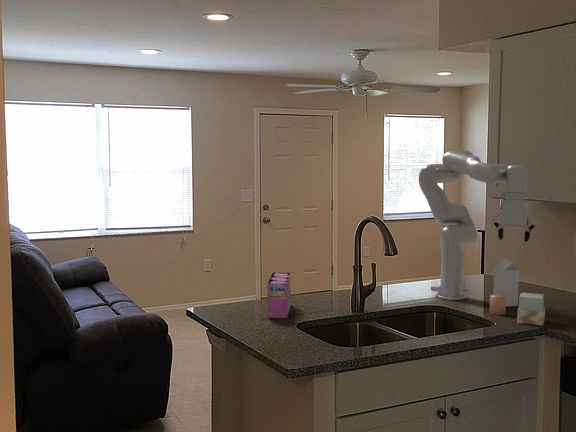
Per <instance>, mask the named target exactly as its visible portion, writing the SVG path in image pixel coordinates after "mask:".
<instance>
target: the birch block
mask: <svg viewBox="0 0 576 432" xmlns="http://www.w3.org/2000/svg"><path fill="white" fill-rule="evenodd" d="M516 312H517V313H516V314H517V315H516V318H517V319H516V323H517V324H524V323H526V324H527V325H536V326H544V323H545V319H546V307H544V306H543V310H542V312H535V311H525V310H519V307H518V308H517V311H516Z"/></svg>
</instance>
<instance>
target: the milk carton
mask: <svg viewBox="0 0 576 432" xmlns="http://www.w3.org/2000/svg"><path fill="white" fill-rule="evenodd" d="M500 260H501V261H500V262H499V263H497V265H496V266H494V267H493V290H492V291H493V293H492V294H502V295H506V308H507V307H517V306H518V307H519V281H520V280H519V275H520V270H519V269H518V268H517V267H516V266H515V264H514V263H513V261H512V260H510V259H506V258H501V259H500Z"/></svg>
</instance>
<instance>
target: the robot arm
mask: <svg viewBox="0 0 576 432" xmlns="http://www.w3.org/2000/svg"><path fill="white" fill-rule="evenodd" d="M441 158H442V160H441V162H442V163H431V164H426V165H425V166H423V167H421V169H420V171H419V174H418V184H419V188H420V190H421V192H422V194H423V196H424V197H425V199H426V201H427V204H428V206H429V209H430V211H431V213H432V216H433V218H434V220H435V222H436V223H437V224H439V225H440V226H441V225H442V226H444V225H445V226H444V227H443V228H442V229H441V230H440V232H439V244H440V250H441V251H440V253H441V254H440V255H441V257H440V285H439V286H432V285H431V286H430V291H431V292H437V293H436V298H439V299H440V300H441V299H442V300H449V301H462V300H465V299H467V294H465V293H464V271H465V270H464V269H465V268H464V266H465V261H464V260H465V258H464V257H465V256H464V253H463V250H462V248H461V247H467V246H472V245H474V244H475V243H476V241H477V239H478V232H477V228H476V226H475V223H474V221H473V219H472V217H471V215H470V212H469V210H468V208H467V207H466V206H465V205H464V204H462V203H459V202H450V201H449V199H448V196H447V194H446V192H445V191H444V189H442V187H440V186H439V184H448V183H453V182H455V181H457V180H458V179H459V178H460V177H462V176H464V175H467V176H469V177H470V178H471V179H473V180H475V181H478V182H482V183H486V184H505V192H504V193H501V197H502V198H504V199H502V202H501V207H500V208H501V209H500V214H498V215H496V216H494V217H491V221H492V223H493V225H494V227H496V229H497V231H498V232H497V233H498V234H497V237H498V239H499V240H500V241H501V240H503V239H504V227H505V226H507V227H523V229H524V230H525V231H524V238H523V239H524V240H523V241H524V242H525V243H527V242H528V241H529V240H530V235H531V231H532V230H533V229H534V228H536V225H537V224H538V222H539V220H538V219H536V218H534V217H533V216H531V215H530V214H529V205H528V200H526V196H527V176H528V175H527V173H528V170H527V166H526V165H523V164H522V165H519V164H513V165H512V164H506V163H503V164H502V163H491V164H490V163H485V162H483V161H481V159H480V157H479V156H477V155H473V153H472V152H471V151H469V150H463V149H461V150H459V149H458V150H457V149H456V150H455V149H454V150H449V151H448V150H447V152H445V153H444V155H443V156H442V157H441ZM498 219H499V222H498ZM529 221H530V222H532V223H531V225H529Z"/></svg>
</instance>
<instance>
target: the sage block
mask: <svg viewBox="0 0 576 432" xmlns="http://www.w3.org/2000/svg"><path fill="white" fill-rule="evenodd" d="M544 297H545V295H544V293H542V294H541V293H530V292H521V293H520V295H518V308H519V310H525V311H535V312H542V310H543V307H544V300H545V299H544Z"/></svg>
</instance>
